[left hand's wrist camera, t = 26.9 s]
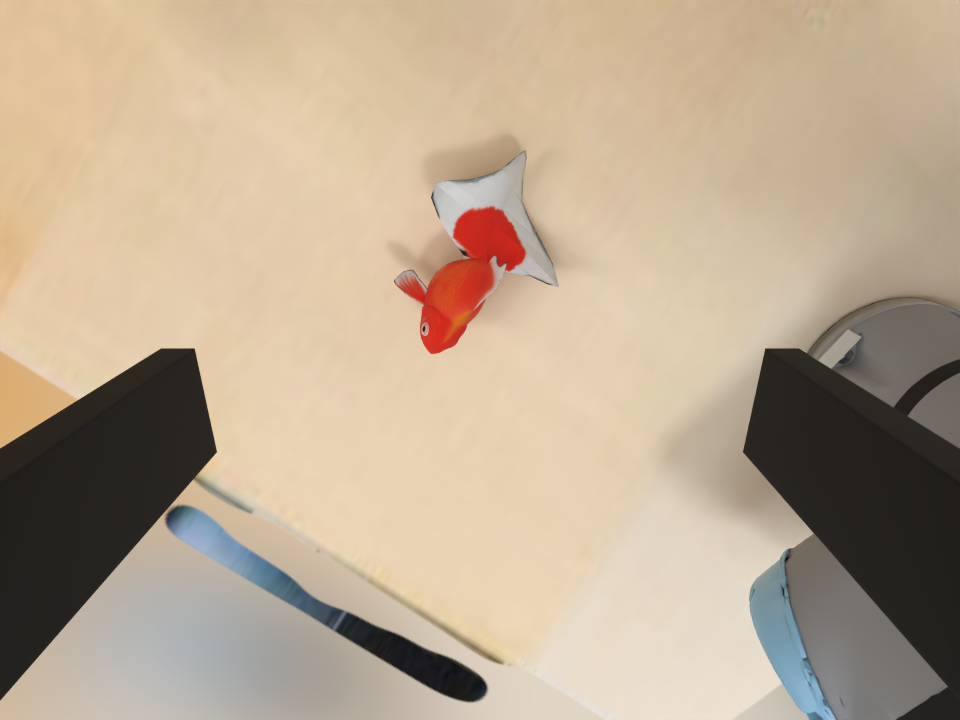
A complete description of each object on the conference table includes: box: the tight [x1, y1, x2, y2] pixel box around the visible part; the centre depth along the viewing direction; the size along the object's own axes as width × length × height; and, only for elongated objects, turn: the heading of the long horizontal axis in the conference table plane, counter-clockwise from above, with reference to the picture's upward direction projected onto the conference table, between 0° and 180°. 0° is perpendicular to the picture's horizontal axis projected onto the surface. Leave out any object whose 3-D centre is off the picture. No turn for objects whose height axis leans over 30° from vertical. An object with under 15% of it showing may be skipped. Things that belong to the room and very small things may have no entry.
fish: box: [394, 151, 559, 354], centre depth 39 cm, size 11×16×10 cm
